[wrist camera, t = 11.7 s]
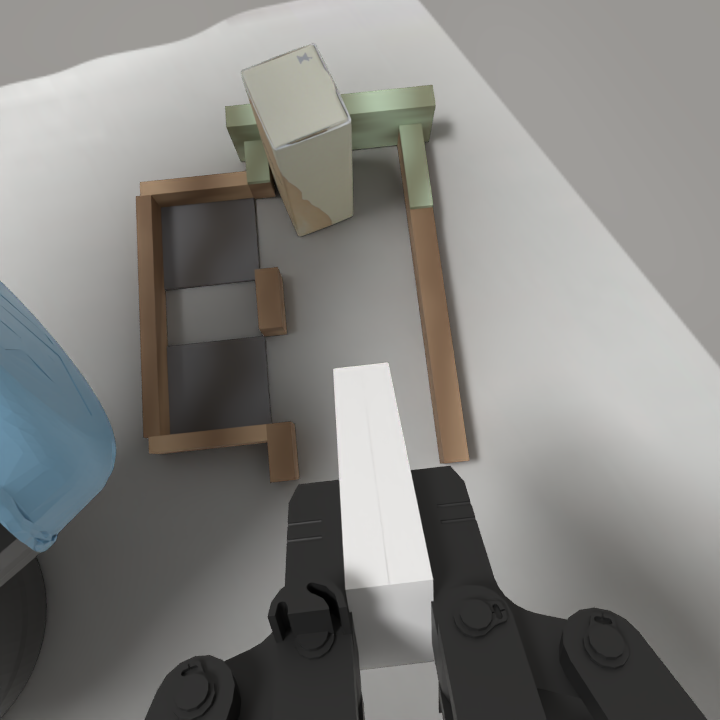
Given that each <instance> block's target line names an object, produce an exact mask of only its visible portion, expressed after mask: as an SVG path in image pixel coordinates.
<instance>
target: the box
mask: <svg viewBox="0 0 720 720" xmlns="http://www.w3.org/2000/svg"><path fill="white" fill-rule="evenodd" d="M241 76H242V79H243V82H244V85H245V88H246V92H247V95H248V98H249V101H250V104H251V107H252V111H253V114H254V117H255V120H256V124H257V127H258V130H259V133H260V136H261V140H262V143H263V146H264V149H265V152H266V156H267V159H268V162H269V165H270V169H271V172H272V175H273V178H274V181H275V184H276V186H277V188H278V191H279V193H280V196H281V198H282V200H283V203H284V205H285V207H286V210H287V212H288V214H289V216H290V219H291V221H292V223H293V225H294V228H295V230H296V232H297V234H298V236H304V235H306V234H309V233H312V232H315V231H317V230H320V229H322V228H325V227H328V226H330V225H333V224H335V223H338V222H340V221H343V220H345V219H347V218H350V217H352V216H353V173H352V127H351V118H350V115H349V113H348V111H347V108H346V106H345V104H344V102H343V99H342V97H341V95H340V93H339V91H338V89H337V87H336V85H335V83H334V81H333V78H332V76H331V74H330V72H329V70H328V68H327V66H326V64H325V62H324V60H323V58H322V56H321V54H320V52H319V50H318V48H317V46H316V45H315V44H314V43H311V44H308V45H306V46H303V47H301V48H298V49H295V50H292V51H289V52H287V53H284V54H282V55H279V56H276V57H274V58H271V59H269V60H266V61H264V62H261V63H259V64H257V65H254V66H252V67H249V68H246V69H244V70H242V71H241Z"/></svg>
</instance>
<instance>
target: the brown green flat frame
mask: <svg viewBox="0 0 720 720" xmlns="http://www.w3.org/2000/svg"><path fill="white" fill-rule="evenodd" d="M340 95H341V97H342V99H343V102H344V104H345V106H346V108H347V111H348V113H349V115H350V118H351V127H352V150H356V149H365V148H375V147H384V146H394V145H397V146H398V154H399V161H400V169H401V176H402V184H403V191H404V198H405V206H406V213H407V221H408V228H409V236H410V243H411V250H412V258H413V265H414V273H415V280H416V288H417V295H418V303H419V310H420V317H421V325H422V332H423V340H424V347H425V355H426V362H427V370H428V377H429V384H430V392H431V399H432V407H433V414H434V422H435V429H436V437H437V444H438V451H439V459H440V463H452V462H461V461H469V454H468V448H467V441H466V434H465V427H464V420H463V413H462V406H461V399H460V392H459V385H458V378H457V372H456V365H455V358H454V351H453V344H452V337H451V330H450V323H449V316H448V309H447V302H446V296H445V289H444V282H443V275H442V268H441V261H440V254H439V247H438V240H437V233H436V226H435V219H434V213H433V200H432V193H431V186H430V179H429V172H428V165H427V158H426V151H425V145H424V142H429V137H430V132H431V127H432V121H433V116H434V111H435V106H436V105H435V98H434V92H433V85H427V86H417V87H407V88H398V89H388V90H379V91H369V92H359V93H350V94H340ZM225 112H226V127H227V130H228V132H229V134H230V137H231V139H232V142H233V144H234V146H235V149H236V151H237V154H238V156H239V159H240V161H246V171H242V172H233V173H223V174H214V175H204V176H195V177H185V178H176V179H166V180H157V181H147V182H140V196H136V217H137V249H138V281H139V312H140V344H141V376H142V407H143V438H148V441H149V454H168V453H177V452H186V451H195V450H204V449H213V448H222V447H231V446H240V445H250V444H259V443H267V444H268V457H269V471H270V483H271V482H280V481H289V480H297V479H299V468H298V457H297V445H296V433H295V424H294V423H292V422H291V421H290V422H281V423H272V424H271V412H270V398H269V385H268V372H267V359H266V346H265V337H266V336H276V335H285V334H287V327H286V315H285V304H284V292H283V280H282V276H281V274H280V271H279V269H278V267H274V268H264V269H260V268H259V255H258V242H257V229H256V216H255V203H254V199H260V198H269V197H275V186H274V178H273V175H272V172H271V169H270V165H269V162H268V159H267V156H266V152H265V149H264V146H263V143H262V140H261V136H260V133H259V130H258V127H257V124H256V120H255V117H254V114H253V111H252V107H251V104H244V105H234V106H225ZM246 281H255V284H256V297H257V310H258V324H259V330H260V331H261V333H262V334H263V335H264V336H259V337H250V338H241V339H232V340H222V341H213V342H204V343H195V344H185V345H176V346H168V342H167V318H166V294H165V290H171V289H180V288H190V287H199V286H208V285H218V284H227V283H236V282H246Z"/></svg>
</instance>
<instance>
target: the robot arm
mask: <svg viewBox="0 0 720 720" xmlns="http://www.w3.org/2000/svg"><path fill="white" fill-rule="evenodd" d="M333 375H334V393H335V411H336V429H337V447H338V465H339V480H334V481H325V482H316V483H307V484H299V485H298V487H297V488H296V490H295V492H294V494H293V496H292V498H291V500H290V502H289V510H288V531H287V553H286V574H285V587H283V588H282V589H281V590H280V591H279V592H278V594H277V595H276V596H275V598H274V599H273V601H272V602H271V606H270V609H269V613H268V619H269V622H270V625H271V629H272V633H271V634H270V635H269V636H268V637H267V638H266V639H265V640H264V641H263V642H262V643H260V644H258V645H257V646H255V647H253V648H252V649H250V650H248V651H246V652H244V653H241V654H239V655H237V656H235V657H233V658H231V659H229V660H226V661H223V660H221V659H218V658H216V657H213V656H210V655H207V656H195V657H193V658H191V659H188V660H186V661H184V662H182V663H180V664H179V665H178V666H177V667H176V668H174V669H173V670H172V671H171V672H170V673H169V674H168V675H167V676H166V678H165V679H164V681H163V682H162V684H161V686H160V687H159V689H158V690H157V692H156V695H155V697H154V699H153V702H152V704H151V706H150V708H149V711H148V713H147V715H146V718H145V720H365V717H364V703H363V698H362V692H361V679H360V670H365V669H373V668H381V667H390V666H398V665H407V664H415V663H423V662H432V661H434V658H435V664H436V669H437V674H438V680H439V713H442V715H443V720H707V719H706V717H705V716H704V715H703V714H702V712H701V711H700V710H699V708H698V707H697V706H696V705H695V703H694V702H693V701H692V699H691V698H690V697H689V696H688V694H687V693H686V692H685V690H684V689H683V688H682V687H681V685H680V684H679V683H678V681H677V680H676V679H675V678H674V676H673V675H672V674H671V673H670V671H669V670H668V669H667V667H666V666H665V665H664V664H663V662H662V661H661V660H660V658H659V657H658V656H657V655H656V653H655V652H654V651H653V649H652V648H651V647H650V646H649V644H648V643H647V642H646V640H645V639H644V638H643V637H642V635H641V634H640V633H639V632H638V631H637V630H636V629H635V628H634V627H633V626H632V625H631V624H630V623H629V622H628V621H627V620H626V619H624V618H622V617H621V616H619V615H617V614H615V613H613V612H611V611H608V610H603V609H598V608H589V609H583V610H579V611H578V612H576V613H575V614H573V615H572V616H570V617H569V618H568V620H566V619H561V618H556V617H551V616H546V615H541V614H537V613H533V612H530V611H527V610H525V609H523V608H521V607H519V606H517V605H516V604H514V603H513V602H512V601H511V600H509V599H508V598H507V597H506V596H505V595H504V594H503V592H502V591H501V590H500V588H499V587H498V585H497V583H496V581H495V578H494V576H493V572H492V569H491V566H490V563H489V560H488V556H487V553H486V550H485V547H484V544H483V540H482V537H481V534H480V531H479V528H478V524H477V521H476V520H475V515H474V511H473V508H472V505H471V504H470V499H469V495H468V492H467V489H466V486H465V483H464V481H463V480H462V479H461V477H460V476H459V475H458V474H457V473H456V472H455V471H454V470H453V469H452V467H451V466H444V467H436V468H427V469H418V470H410V465H409V461H408V456H407V451H406V446H405V441H404V436H403V431H402V427H401V422H400V417H399V412H398V407H397V402H396V398H395V393H394V388H393V383H392V378H391V373H390V369H389V364H388V362H387V363H378V364H369V365H360V366H351V367H342V368H334V369H333ZM115 457H116V443H115V438H114V433H113V430H112V427H111V424H110V422H109V420H108V418H107V415H106V413H105V411H104V409H103V407H102V406H101V404H100V402H99V400H98V398H97V397H96V395H95V394H94V392H93V390H92V389H91V387H90V386H89V384H88V383H87V381H86V380H85V378H84V377H83V376H82V374H81V373H80V371H79V370H78V369H77V367H76V366H75V365H74V363H73V362H72V361H71V359H70V358H69V357H68V355H67V354H66V353H65V352H64V350H63V349H62V348H61V347H60V345H59V344H58V343H57V342H56V340H55V339H54V338H53V337H52V336H51V335H50V333H49V332H48V331H47V330H46V329H45V328H44V326H43V325H42V324H41V323H40V322H39V321H38V320H37V319H36V317H35V316H34V315H33V314H32V313H31V312H30V311H29V310H28V309H27V308H26V307H25V306H24V304H23V303H22V302H21V301H20V300H19V299H18V298H17V297H16V296H15V295H14V294H13V293H12V292H11V291H10V290H9V289H8V288H7V287H6V286H5V285H4V284H3V283H2V282H1V281H0V718H1V717H2V716H3V715H4V714H5V712H6V711H7V710H8V709H9V708H10V707H11V705H12V704H13V703H14V701H15V700H16V699H17V697H18V696H19V694H20V693H21V691H22V689H23V688H24V686H25V684H26V683H27V681H28V679H29V677H30V675H31V673H32V671H33V668H34V666H35V663H36V661H37V658H38V655H39V652H40V649H41V645H42V641H43V636H44V630H45V622H46V595H45V587H44V581H43V577H42V573H41V570H40V567H39V564H38V561H37V559H36V556H37V555H38V554H40V553H41V552H44V551H46V550H47V549H48V548H50V547H51V545H52V544H53V543H55V541H56V539H57V535H58V533H59V532H60V531H61V530H62V529H63V528H64V527H65V526H66V525H67V524H68V523H69V522H70V521H71V520H72V519H73V518H74V517H75V516H76V515H77V514H78V513H79V512H80V511H81V510H82V509H83V508H84V507H85V506H86V505H87V504H88V503H89V502H90V501H91V500H92V499H93V498H94V497H95V496H96V495H97V494H98V493H99V492H100V491H101V490H102V489H103V487H104V486H105V485H106V482H107V480H108V478H109V476H110V475H111V473H112V470H113V468H114V463H115Z"/></svg>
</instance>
